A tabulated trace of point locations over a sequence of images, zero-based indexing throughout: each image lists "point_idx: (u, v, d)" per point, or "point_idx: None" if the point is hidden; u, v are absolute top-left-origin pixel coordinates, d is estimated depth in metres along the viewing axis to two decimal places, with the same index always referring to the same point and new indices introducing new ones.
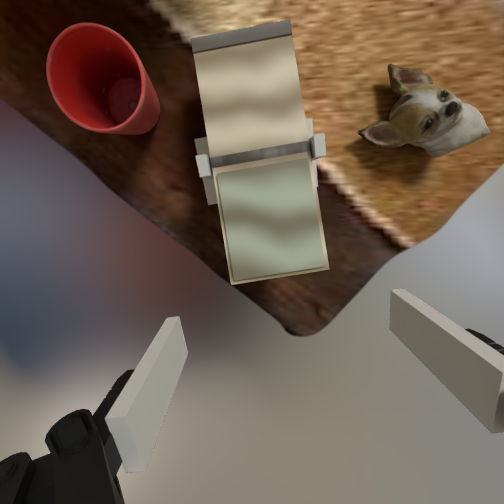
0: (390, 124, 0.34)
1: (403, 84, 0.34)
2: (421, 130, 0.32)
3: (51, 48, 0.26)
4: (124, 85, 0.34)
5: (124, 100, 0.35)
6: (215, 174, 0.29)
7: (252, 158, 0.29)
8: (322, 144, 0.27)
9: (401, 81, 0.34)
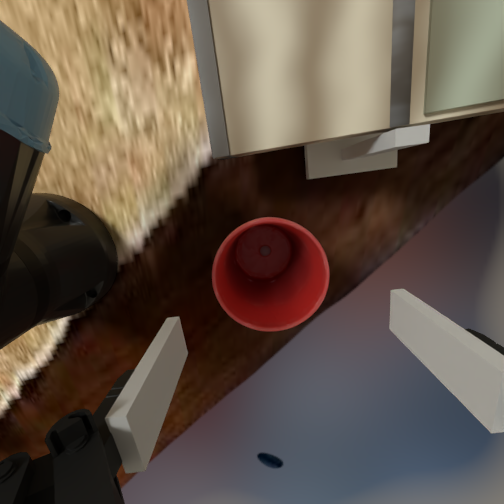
0: None
1: None
2: None
3: (238, 320, 0.22)
4: (243, 258, 0.30)
5: (258, 260, 0.30)
6: (422, 117, 0.17)
7: (408, 43, 0.16)
8: None
9: None
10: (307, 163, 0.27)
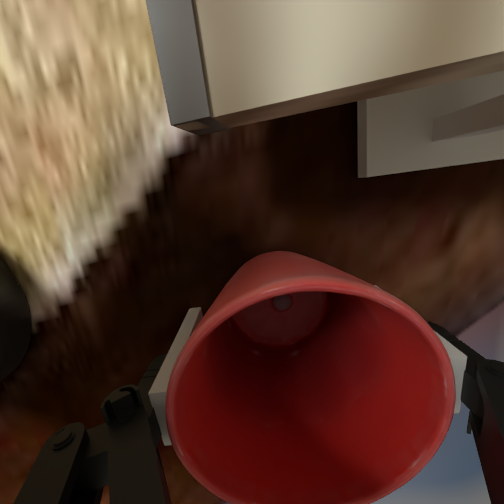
0: None
1: None
2: None
3: (230, 501, 0.10)
4: (244, 313, 0.17)
5: (269, 318, 0.17)
6: None
7: None
8: None
9: None
10: (364, 147, 0.14)
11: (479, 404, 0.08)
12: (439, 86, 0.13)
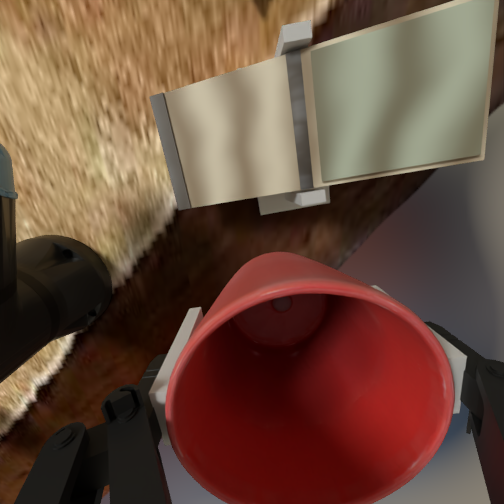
0: None
1: None
2: None
3: (230, 502, 0.10)
4: (244, 314, 0.17)
5: (269, 318, 0.17)
6: (321, 183, 0.24)
7: (305, 134, 0.23)
8: (296, 27, 0.20)
9: None
10: None
11: (478, 404, 0.08)
12: None
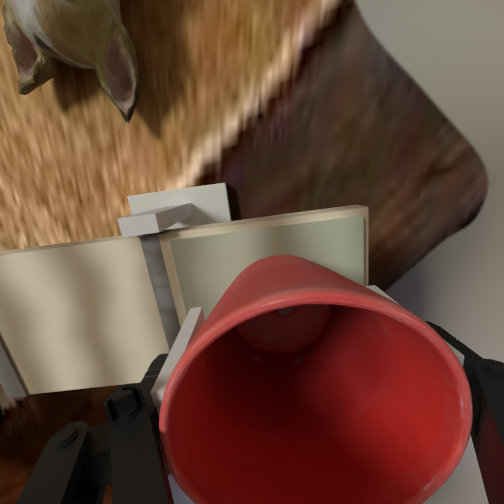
0: (98, 64, 0.19)
1: None
2: None
3: None
4: None
5: (271, 324, 0.17)
6: None
7: (175, 323, 0.18)
8: (136, 221, 0.15)
9: (37, 61, 0.21)
10: None
11: (476, 403, 0.08)
12: None
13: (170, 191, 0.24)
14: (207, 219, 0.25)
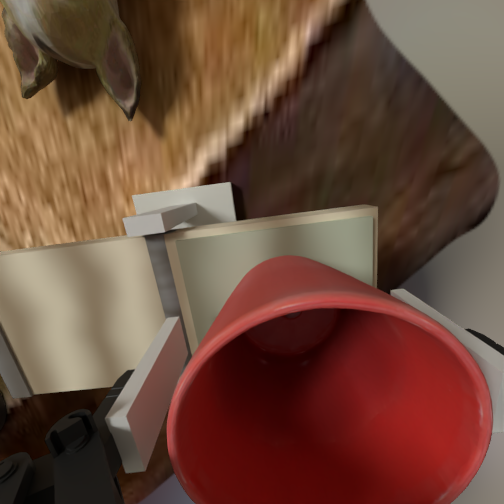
0: (98, 62, 0.19)
1: None
2: None
3: None
4: None
5: (278, 325, 0.17)
6: None
7: None
8: (142, 220, 0.15)
9: None
10: None
11: None
12: None
13: (175, 190, 0.24)
14: (212, 219, 0.25)
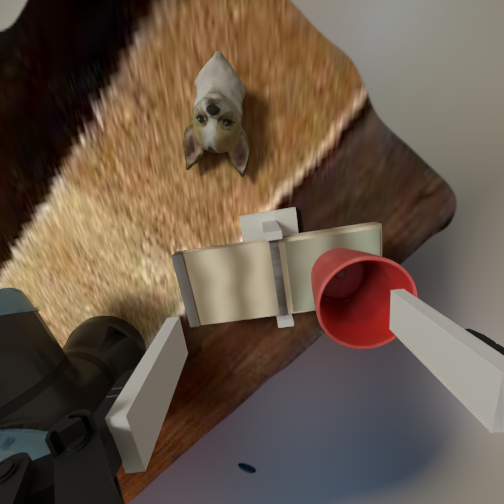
0: (231, 151, 0.37)
1: (195, 149, 0.38)
2: (233, 125, 0.33)
3: (335, 340, 0.26)
4: None
5: (334, 282, 0.34)
6: (293, 311, 0.37)
7: (282, 284, 0.35)
8: (272, 233, 0.32)
9: (193, 151, 0.39)
10: None
11: None
12: None
13: (264, 213, 0.41)
14: (284, 229, 0.42)
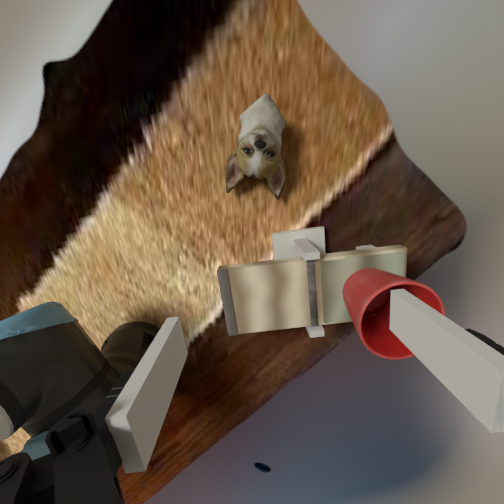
0: (269, 177, 0.41)
1: (235, 174, 0.42)
2: (275, 156, 0.37)
3: (372, 351, 0.30)
4: None
5: None
6: (323, 323, 0.41)
7: (315, 298, 0.39)
8: (311, 254, 0.36)
9: (232, 175, 0.42)
10: None
11: None
12: None
13: (295, 231, 0.45)
14: (312, 246, 0.46)
